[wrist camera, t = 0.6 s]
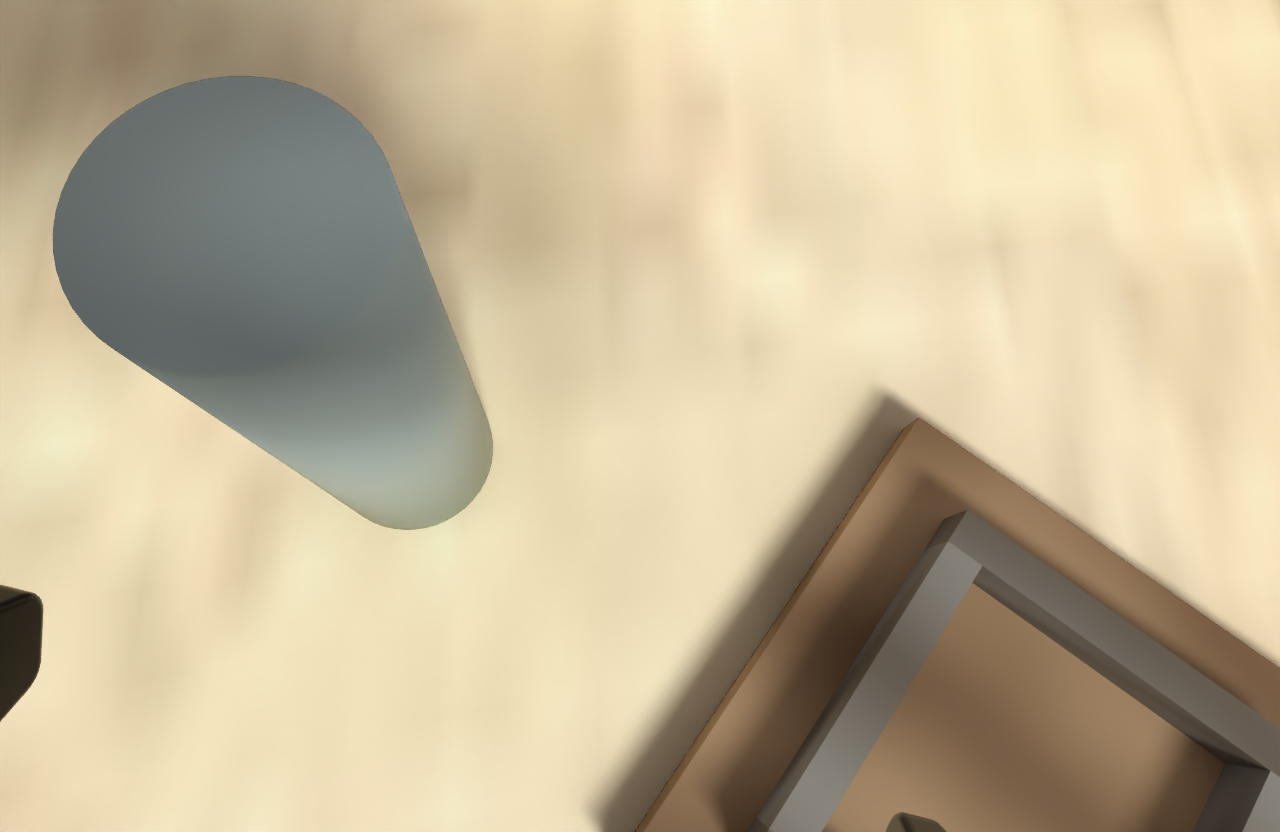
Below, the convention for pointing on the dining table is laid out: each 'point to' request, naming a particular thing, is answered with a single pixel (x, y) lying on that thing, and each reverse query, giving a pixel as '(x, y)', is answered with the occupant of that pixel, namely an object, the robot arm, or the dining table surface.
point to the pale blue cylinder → (277, 290)
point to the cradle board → (982, 682)
